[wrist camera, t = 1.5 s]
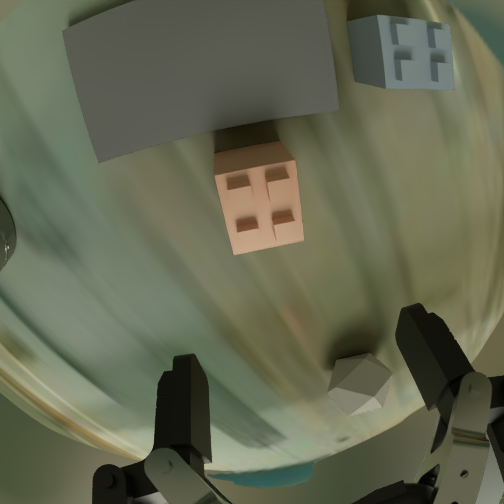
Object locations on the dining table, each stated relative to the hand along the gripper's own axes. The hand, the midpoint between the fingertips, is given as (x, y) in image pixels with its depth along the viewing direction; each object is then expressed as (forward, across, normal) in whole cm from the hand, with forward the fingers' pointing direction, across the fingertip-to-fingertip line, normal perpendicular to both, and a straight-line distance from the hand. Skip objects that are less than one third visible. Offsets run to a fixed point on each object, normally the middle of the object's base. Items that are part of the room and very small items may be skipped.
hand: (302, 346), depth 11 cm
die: (+16, -9, +28) cm, 34 cm away
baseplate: (+16, +2, -10) cm, 19 cm away
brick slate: (+16, -12, -10) cm, 22 cm away
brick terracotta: (+16, 0, 0) cm, 16 cm away
